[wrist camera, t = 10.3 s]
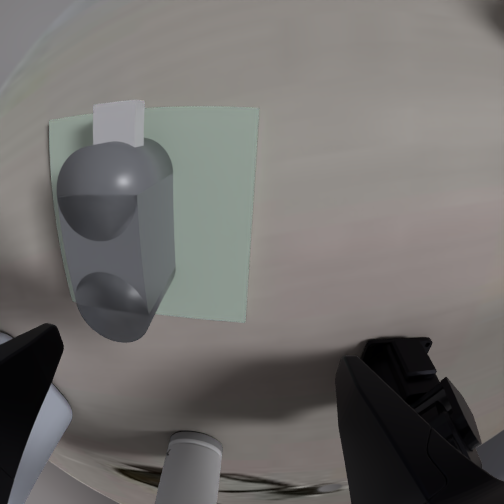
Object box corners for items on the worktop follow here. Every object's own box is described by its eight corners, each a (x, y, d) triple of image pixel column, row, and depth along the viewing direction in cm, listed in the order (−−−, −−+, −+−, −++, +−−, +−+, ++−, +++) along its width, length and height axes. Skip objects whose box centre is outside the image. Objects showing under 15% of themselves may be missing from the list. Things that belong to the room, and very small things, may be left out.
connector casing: (177, 294, 20) (154, 347, 15) (120, 288, 20) (85, 335, 15) (174, 102, 15) (137, 94, 10) (107, 107, 15) (53, 107, 10)
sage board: (245, 316, 22) (245, 322, 21) (76, 296, 22) (72, 301, 21) (259, 108, 16) (259, 108, 15) (55, 119, 16) (49, 120, 15)
